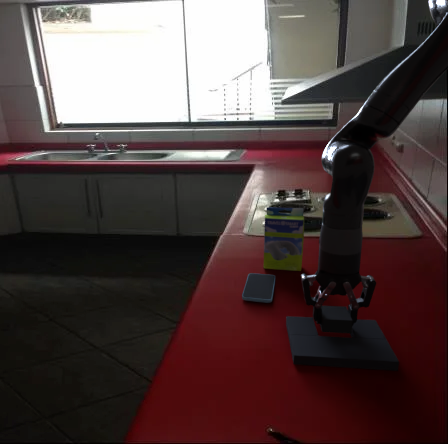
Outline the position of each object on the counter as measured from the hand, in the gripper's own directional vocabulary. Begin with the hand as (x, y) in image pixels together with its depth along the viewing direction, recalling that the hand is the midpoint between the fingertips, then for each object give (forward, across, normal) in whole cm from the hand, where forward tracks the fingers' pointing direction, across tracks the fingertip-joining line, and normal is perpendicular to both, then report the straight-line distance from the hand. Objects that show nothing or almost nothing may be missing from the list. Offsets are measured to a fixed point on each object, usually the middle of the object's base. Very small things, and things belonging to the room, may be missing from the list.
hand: (334, 322), depth 85 cm
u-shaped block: (+3, 0, -4) cm, 5 cm away
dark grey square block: (+1, 0, 0) cm, 1 cm away
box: (+3, -7, +33) cm, 34 cm away
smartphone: (+3, -14, +19) cm, 24 cm away
